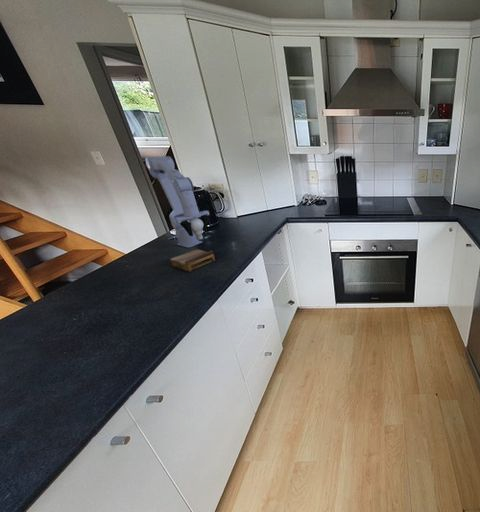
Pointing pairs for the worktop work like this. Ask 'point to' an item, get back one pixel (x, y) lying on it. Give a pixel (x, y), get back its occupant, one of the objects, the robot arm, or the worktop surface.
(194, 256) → the wooden pallet
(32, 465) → the worktop surface
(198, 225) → the lightbulb
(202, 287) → the worktop surface
